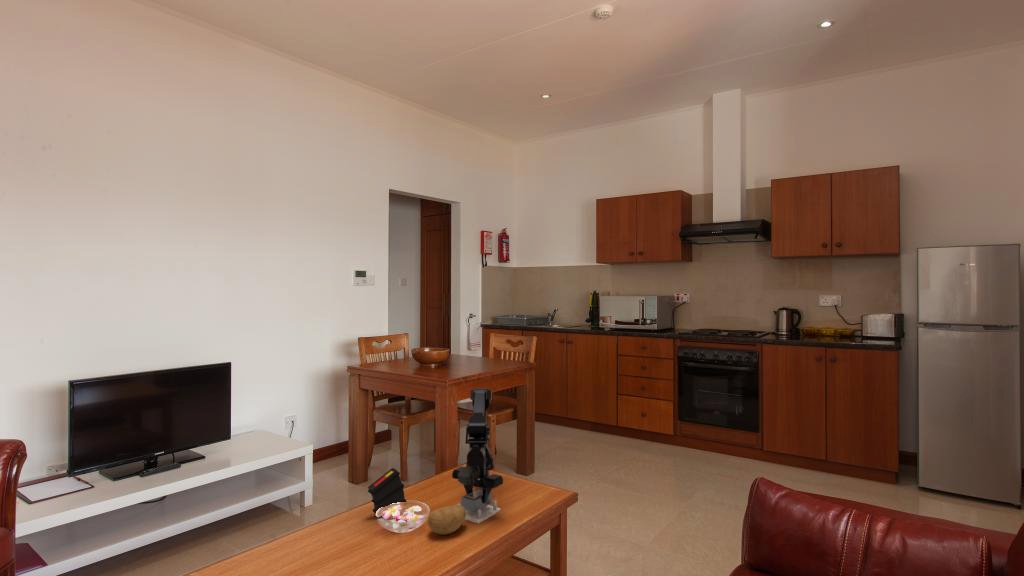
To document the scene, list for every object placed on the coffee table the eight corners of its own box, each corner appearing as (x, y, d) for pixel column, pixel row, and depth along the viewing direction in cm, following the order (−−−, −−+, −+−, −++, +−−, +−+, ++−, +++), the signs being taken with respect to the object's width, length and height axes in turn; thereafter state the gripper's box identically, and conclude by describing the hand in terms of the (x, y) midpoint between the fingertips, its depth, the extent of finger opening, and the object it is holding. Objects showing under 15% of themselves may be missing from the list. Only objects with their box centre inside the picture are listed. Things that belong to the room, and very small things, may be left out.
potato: (473, 529, 173) (473, 505, 173) (439, 544, 163) (439, 518, 163) (455, 520, 179) (455, 497, 180) (420, 534, 169) (421, 509, 170)
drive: (478, 499, 192) (478, 487, 192) (492, 502, 188) (492, 490, 188) (461, 508, 183) (461, 496, 183) (474, 512, 180) (475, 500, 180)
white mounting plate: (475, 503, 194) (475, 493, 194) (500, 510, 188) (500, 499, 188) (453, 515, 183) (453, 504, 183) (478, 523, 177) (478, 512, 177)
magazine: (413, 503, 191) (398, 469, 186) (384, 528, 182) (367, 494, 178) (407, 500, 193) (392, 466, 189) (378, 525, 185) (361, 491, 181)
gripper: (442, 458, 185) (441, 502, 184) (484, 468, 174) (484, 515, 174) (462, 450, 194) (462, 492, 194) (503, 459, 183) (503, 504, 183)
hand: (477, 501), depth 186 cm, fingers closed on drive, 6 cm apart
